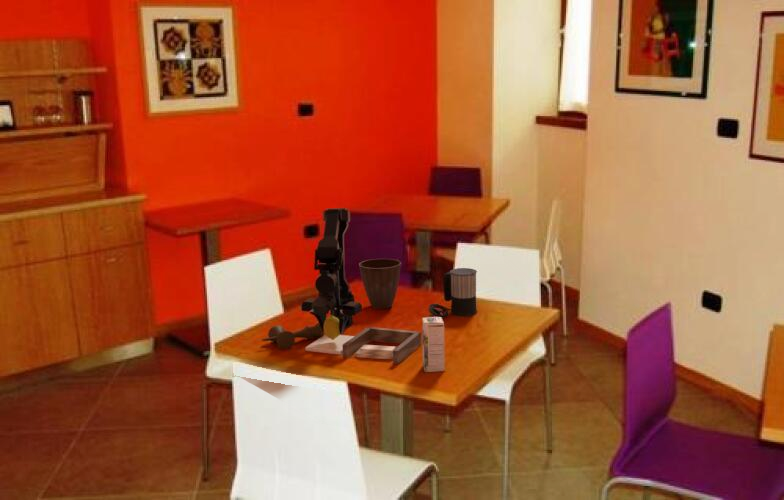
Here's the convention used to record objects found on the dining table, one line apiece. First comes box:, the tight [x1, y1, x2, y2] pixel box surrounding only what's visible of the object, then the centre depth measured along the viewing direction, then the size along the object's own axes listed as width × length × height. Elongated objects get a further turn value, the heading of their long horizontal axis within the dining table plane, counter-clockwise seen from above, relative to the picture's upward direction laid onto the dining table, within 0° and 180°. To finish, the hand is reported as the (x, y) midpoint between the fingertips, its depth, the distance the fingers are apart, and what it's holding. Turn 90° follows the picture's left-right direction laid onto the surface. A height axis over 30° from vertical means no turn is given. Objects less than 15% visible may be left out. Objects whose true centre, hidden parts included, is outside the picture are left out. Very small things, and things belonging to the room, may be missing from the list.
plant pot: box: [358, 258, 402, 310], centre depth 290 cm, size 15×15×16 cm
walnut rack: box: [342, 326, 423, 365], centre depth 245 cm, size 18×18×4 cm
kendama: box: [261, 322, 324, 351], centre depth 256 cm, size 6×10×20 cm
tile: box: [304, 334, 355, 355], centre depth 253 cm, size 12×14×1 cm
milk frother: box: [428, 267, 478, 318], centre depth 278 cm, size 14×16×15 cm
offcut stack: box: [354, 344, 397, 360], centre depth 242 cm, size 12×4×3 cm, turn 73°
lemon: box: [323, 314, 341, 340], centre depth 252 cm, size 6×6×8 cm
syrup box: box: [421, 316, 446, 373], centre depth 228 cm, size 6×6×14 cm
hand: (332, 333), depth 252 cm, fingers closed on lemon, 5 cm apart
